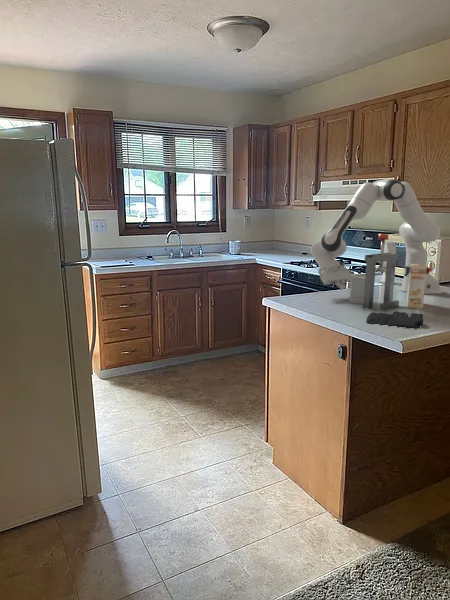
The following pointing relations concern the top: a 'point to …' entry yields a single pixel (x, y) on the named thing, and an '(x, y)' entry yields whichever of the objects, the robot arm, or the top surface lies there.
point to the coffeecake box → (416, 286)
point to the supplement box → (357, 289)
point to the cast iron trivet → (396, 319)
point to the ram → (382, 252)
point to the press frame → (389, 280)
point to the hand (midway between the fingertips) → (343, 288)
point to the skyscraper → (388, 248)
